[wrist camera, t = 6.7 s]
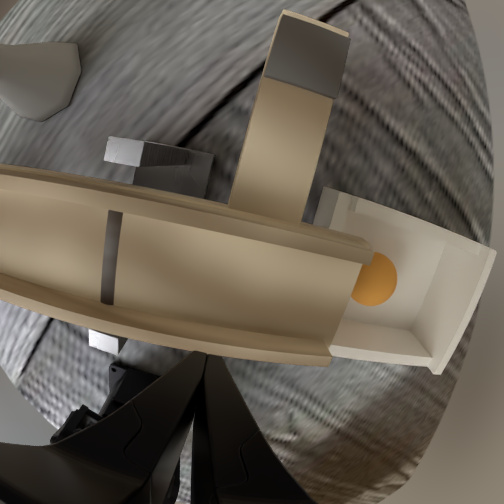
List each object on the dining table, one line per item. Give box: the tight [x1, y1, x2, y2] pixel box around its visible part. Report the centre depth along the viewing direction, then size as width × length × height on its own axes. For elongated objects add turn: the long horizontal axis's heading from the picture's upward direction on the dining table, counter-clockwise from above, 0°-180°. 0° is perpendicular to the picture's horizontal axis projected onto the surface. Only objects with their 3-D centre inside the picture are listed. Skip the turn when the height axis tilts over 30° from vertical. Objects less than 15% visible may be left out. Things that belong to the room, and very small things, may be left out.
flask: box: [0, 42, 81, 122], centre depth 12 cm, size 7×7×10 cm
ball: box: [351, 252, 397, 306], centre depth 19 cm, size 4×4×4 cm
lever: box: [0, 9, 375, 367], centre depth 11 cm, size 15×22×6 cm
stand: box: [89, 136, 215, 355], centre depth 16 cm, size 10×5×9 cm, turn 166°
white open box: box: [312, 186, 497, 375], centre depth 19 cm, size 10×12×6 cm
